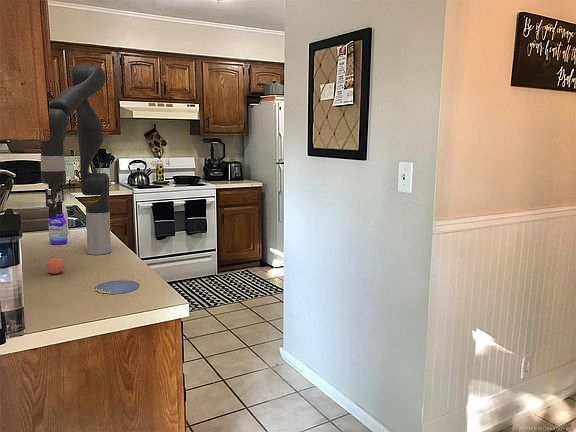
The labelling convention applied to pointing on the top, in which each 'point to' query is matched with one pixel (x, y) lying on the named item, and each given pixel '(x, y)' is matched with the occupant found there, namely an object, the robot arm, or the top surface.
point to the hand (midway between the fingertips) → (56, 216)
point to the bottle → (58, 230)
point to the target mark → (118, 286)
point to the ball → (55, 265)
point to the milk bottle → (65, 214)
